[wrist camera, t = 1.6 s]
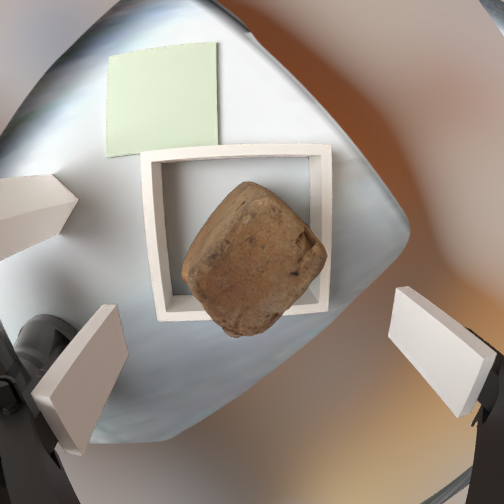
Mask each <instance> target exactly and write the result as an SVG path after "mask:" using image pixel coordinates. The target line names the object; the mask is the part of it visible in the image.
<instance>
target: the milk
mask: <svg viewBox="0 0 504 504" xmlns="http://www.w3.org/2000/svg"><path fill="white" fill-rule="evenodd" d="M77 202H78V199H77V198H76V197H75V196H74V195H73V194H72V193H71V192H70V191H69V190H68V189H67V188H66V187H65V186H64V185H63V184H61V183H60V182H59V181H58V180H57V179H56V178H55V177H54V176H53V175H52V174H49V175H35V176H23V177H12V178H2V179H0V261H1V260H3V259H5V258H7V257H9V256H11V255H14V254H16V253H18V252H20V251H22V250H24V249H26V248H28V247H31V246H33V245H35V244H37V243H39V242H42V241H44V240H46V239H48V238H51V237H53V236H55V235H58V234H59V233H60V231H61V229H62V228H63V226H64V224H65V222H66V221H67V219H68V217H69V215H70V214H71V212H72V210H73V209H74V207H75V205H76V204H77Z"/></svg>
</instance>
